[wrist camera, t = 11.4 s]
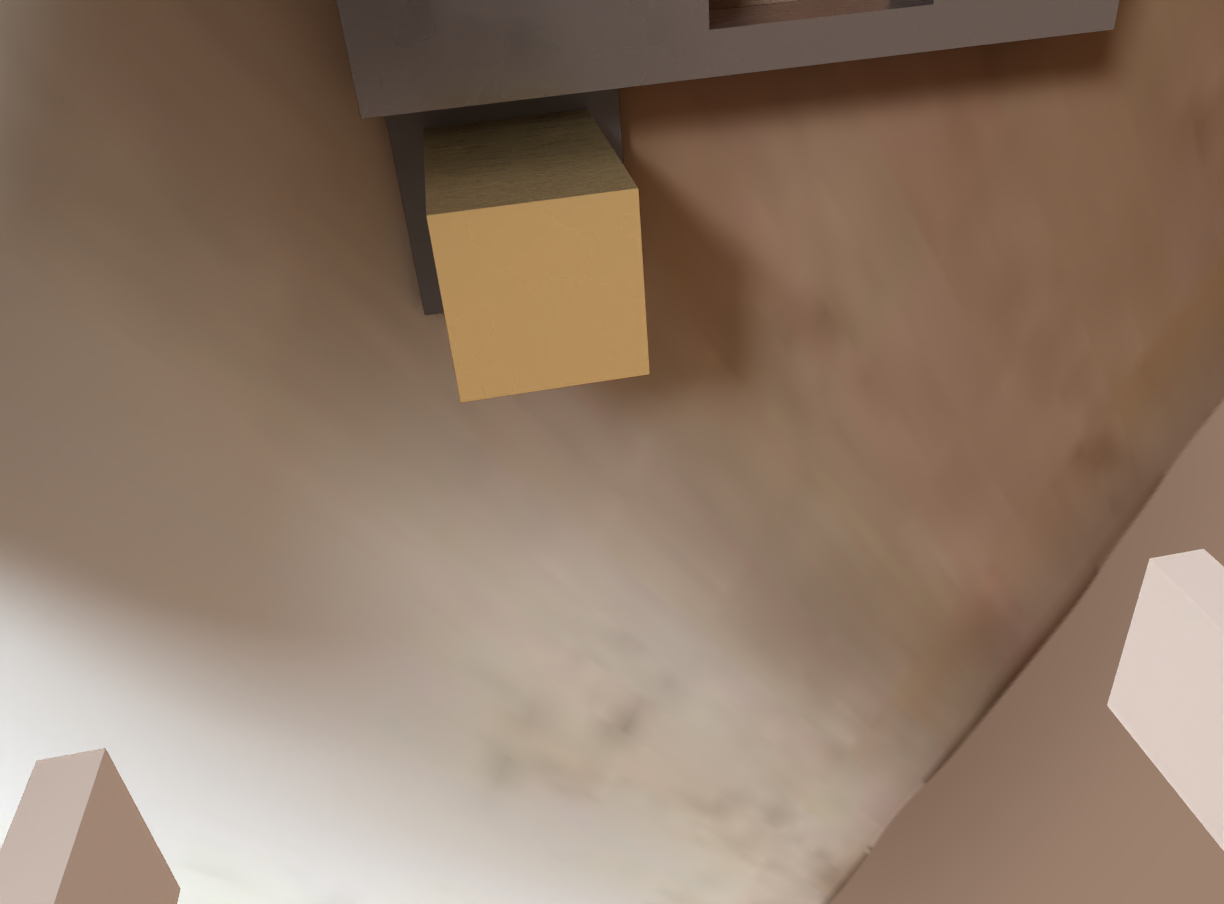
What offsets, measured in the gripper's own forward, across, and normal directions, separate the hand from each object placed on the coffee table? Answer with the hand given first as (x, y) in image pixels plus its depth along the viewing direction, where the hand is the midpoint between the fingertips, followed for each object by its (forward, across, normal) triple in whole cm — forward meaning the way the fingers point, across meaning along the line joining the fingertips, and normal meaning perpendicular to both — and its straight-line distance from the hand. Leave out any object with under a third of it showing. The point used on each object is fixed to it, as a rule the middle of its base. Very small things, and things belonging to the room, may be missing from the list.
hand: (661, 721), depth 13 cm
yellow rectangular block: (+22, 0, 0) cm, 22 cm away
